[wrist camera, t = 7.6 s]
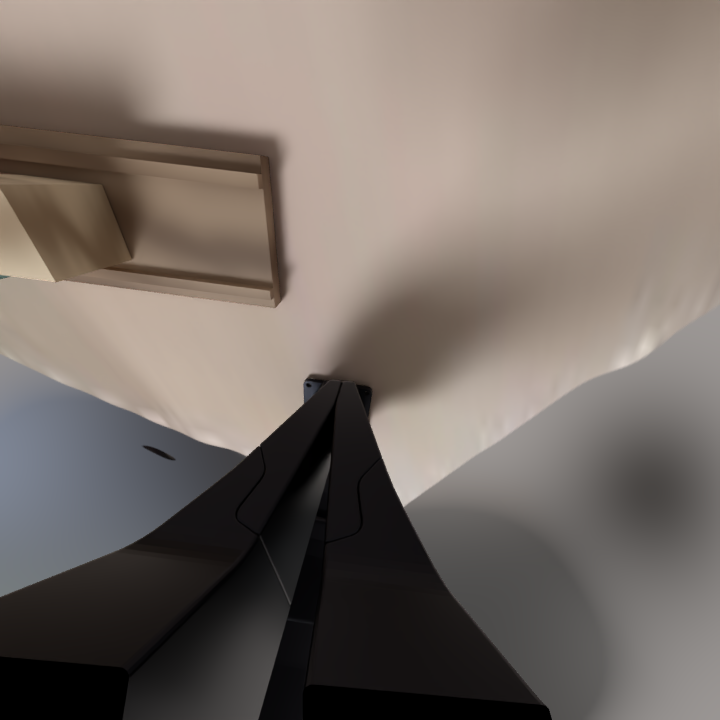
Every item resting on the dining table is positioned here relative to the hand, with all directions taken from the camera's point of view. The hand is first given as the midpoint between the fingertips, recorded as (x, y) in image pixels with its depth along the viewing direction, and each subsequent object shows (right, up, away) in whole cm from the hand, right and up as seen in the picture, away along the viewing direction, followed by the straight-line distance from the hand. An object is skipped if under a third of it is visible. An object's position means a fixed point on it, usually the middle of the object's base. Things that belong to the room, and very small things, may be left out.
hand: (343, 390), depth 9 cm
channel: (-16, +11, +9) cm, 21 cm away
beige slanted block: (-18, +10, +8) cm, 22 cm away
